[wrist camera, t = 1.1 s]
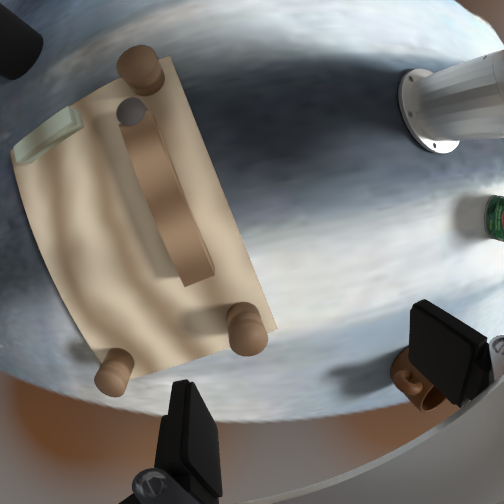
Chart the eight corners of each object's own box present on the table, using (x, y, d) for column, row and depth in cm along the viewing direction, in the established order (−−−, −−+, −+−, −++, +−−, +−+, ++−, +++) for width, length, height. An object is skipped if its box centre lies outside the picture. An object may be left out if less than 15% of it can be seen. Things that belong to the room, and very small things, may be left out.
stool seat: (172, 62, 24) (162, 32, 18) (274, 320, 32) (288, 352, 26) (18, 152, 23) (-16, 149, 17) (119, 374, 32) (105, 408, 25)
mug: (361, 376, 37) (390, 415, 28) (386, 334, 36) (423, 368, 27) (408, 382, 39) (437, 412, 30) (431, 345, 38) (464, 373, 29)
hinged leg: (123, 115, 23) (111, 106, 20) (149, 102, 23) (141, 91, 20) (187, 277, 28) (183, 289, 24) (214, 266, 28) (214, 277, 24)
